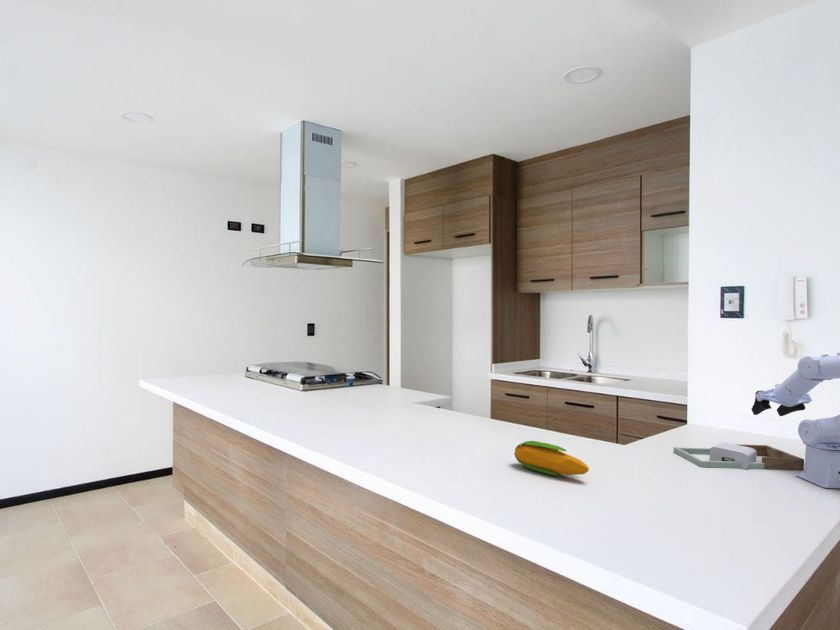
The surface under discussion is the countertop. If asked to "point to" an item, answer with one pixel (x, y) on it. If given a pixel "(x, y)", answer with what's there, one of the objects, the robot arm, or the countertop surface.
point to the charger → (733, 454)
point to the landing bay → (716, 464)
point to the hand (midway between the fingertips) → (766, 412)
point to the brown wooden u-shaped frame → (777, 458)
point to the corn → (548, 459)
